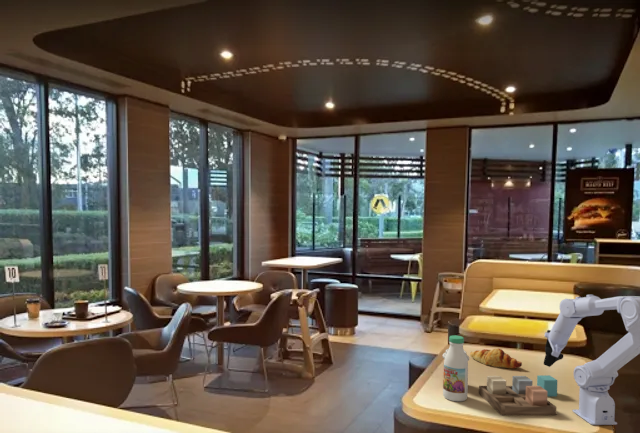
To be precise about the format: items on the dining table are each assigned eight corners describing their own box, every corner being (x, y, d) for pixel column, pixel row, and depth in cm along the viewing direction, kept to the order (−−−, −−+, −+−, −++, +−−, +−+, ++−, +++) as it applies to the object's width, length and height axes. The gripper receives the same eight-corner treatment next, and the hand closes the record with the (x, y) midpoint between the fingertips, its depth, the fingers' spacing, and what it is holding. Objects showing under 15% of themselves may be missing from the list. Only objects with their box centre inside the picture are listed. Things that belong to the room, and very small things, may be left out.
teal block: (556, 396, 156) (557, 380, 156) (544, 396, 155) (544, 380, 155) (549, 391, 160) (549, 375, 160) (536, 391, 160) (537, 375, 160)
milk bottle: (448, 391, 158) (450, 332, 158) (470, 397, 153) (472, 336, 153) (438, 397, 152) (440, 336, 152) (461, 404, 147) (463, 341, 147)
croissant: (467, 367, 193) (463, 352, 191) (476, 352, 200) (472, 337, 197) (519, 380, 179) (516, 363, 176) (527, 362, 186) (524, 346, 183)
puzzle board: (556, 415, 141) (556, 393, 141) (501, 415, 140) (502, 393, 140) (527, 393, 158) (528, 374, 158) (478, 393, 157) (479, 373, 157)
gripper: (551, 311, 160) (536, 339, 167) (548, 337, 148) (533, 366, 155) (573, 319, 158) (557, 348, 165) (572, 346, 146) (555, 375, 153)
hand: (547, 357), depth 160 cm, fingers open, 7 cm apart
